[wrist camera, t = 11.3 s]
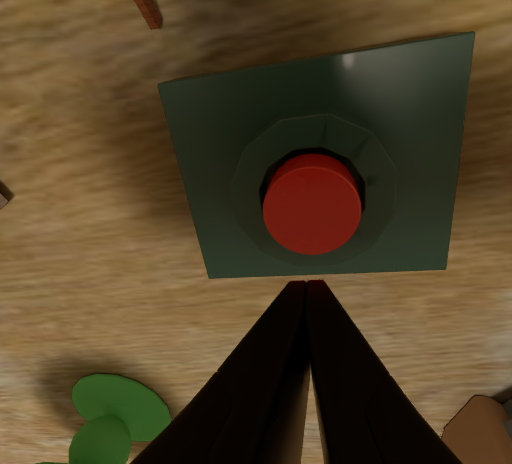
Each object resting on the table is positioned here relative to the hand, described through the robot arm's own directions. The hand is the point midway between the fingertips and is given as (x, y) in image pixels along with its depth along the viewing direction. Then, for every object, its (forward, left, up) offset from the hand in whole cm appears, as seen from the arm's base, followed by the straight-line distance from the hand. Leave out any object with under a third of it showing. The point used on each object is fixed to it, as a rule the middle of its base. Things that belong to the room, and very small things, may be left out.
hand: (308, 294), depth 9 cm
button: (0, 0, -6) cm, 6 cm away
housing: (0, 0, -10) cm, 10 cm away
